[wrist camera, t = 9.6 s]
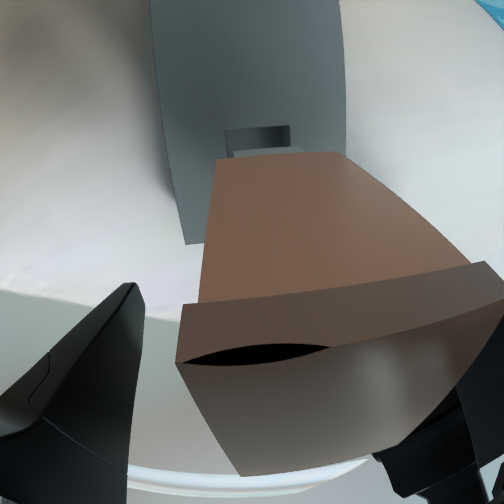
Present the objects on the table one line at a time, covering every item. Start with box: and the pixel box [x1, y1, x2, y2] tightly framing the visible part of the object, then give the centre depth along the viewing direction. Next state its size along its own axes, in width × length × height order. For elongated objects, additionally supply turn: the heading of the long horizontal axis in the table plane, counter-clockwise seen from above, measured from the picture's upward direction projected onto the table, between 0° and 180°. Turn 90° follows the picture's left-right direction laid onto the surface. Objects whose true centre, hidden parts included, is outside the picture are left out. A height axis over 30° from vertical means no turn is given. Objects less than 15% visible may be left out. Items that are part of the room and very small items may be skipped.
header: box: [150, 0, 346, 245], centre depth 11 cm, size 18×8×3 cm, turn 4°
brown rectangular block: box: [175, 146, 504, 477], centre depth 6 cm, size 4×3×8 cm
